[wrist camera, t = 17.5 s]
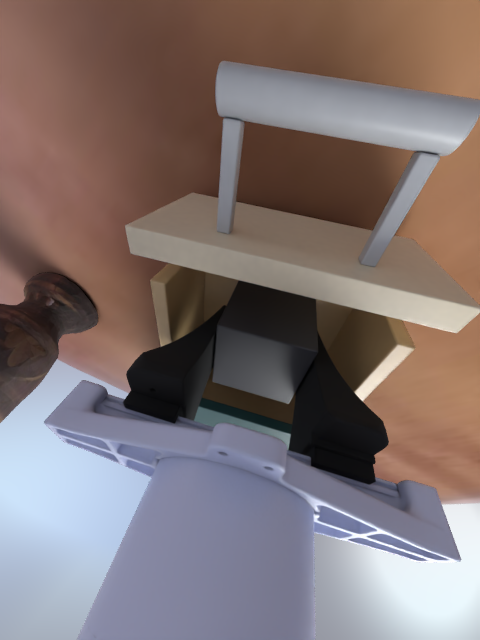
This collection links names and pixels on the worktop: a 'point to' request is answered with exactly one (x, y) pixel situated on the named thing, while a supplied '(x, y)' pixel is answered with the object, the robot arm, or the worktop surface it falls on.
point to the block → (265, 341)
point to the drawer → (312, 229)
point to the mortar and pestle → (38, 334)
